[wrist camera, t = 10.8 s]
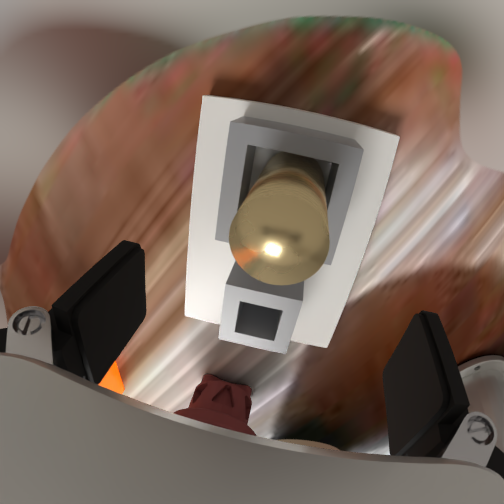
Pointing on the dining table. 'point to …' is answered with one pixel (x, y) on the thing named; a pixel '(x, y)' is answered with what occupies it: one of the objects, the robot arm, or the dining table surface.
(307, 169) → the brass pipe fitting
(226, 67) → the dining table surface
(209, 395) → the mechanical component
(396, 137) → the plate
